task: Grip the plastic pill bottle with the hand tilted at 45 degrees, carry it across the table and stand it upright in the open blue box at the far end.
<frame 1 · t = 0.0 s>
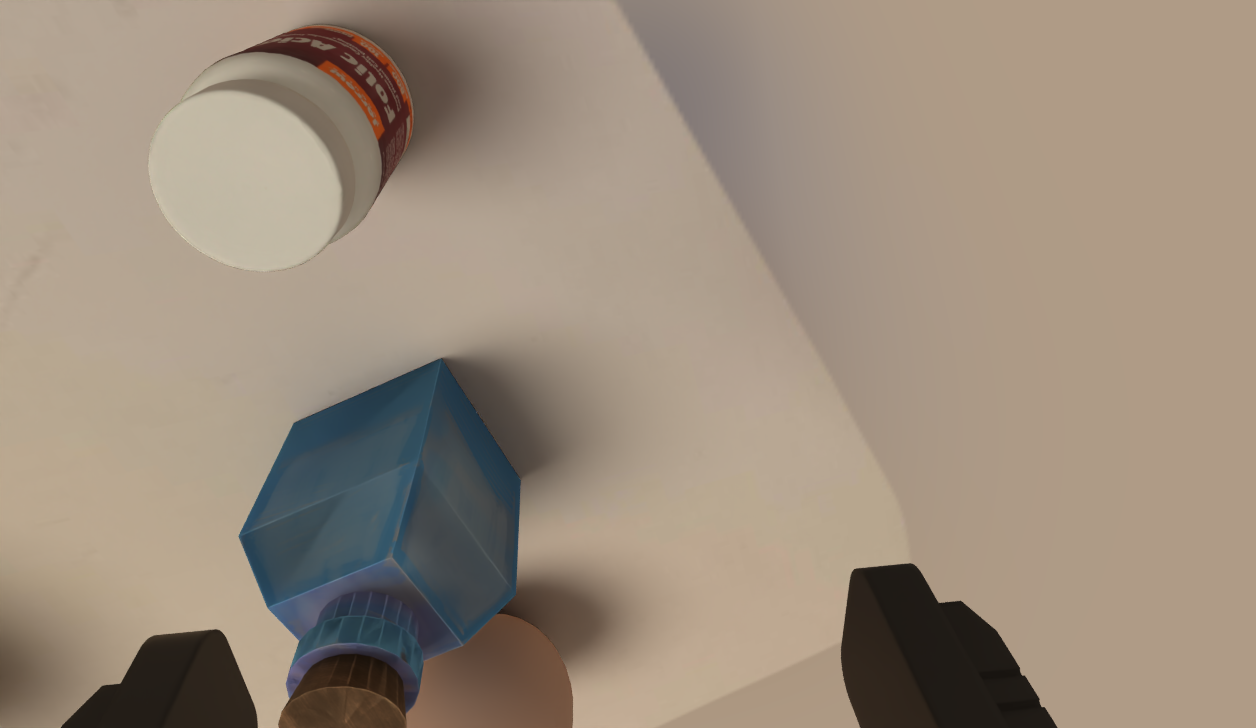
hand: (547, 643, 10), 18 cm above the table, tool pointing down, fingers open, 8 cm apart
perfume bottle: (412, 449, 31), on the table
pill bottle: (337, 104, 25), on the table
egg: (496, 626, 36), on the table
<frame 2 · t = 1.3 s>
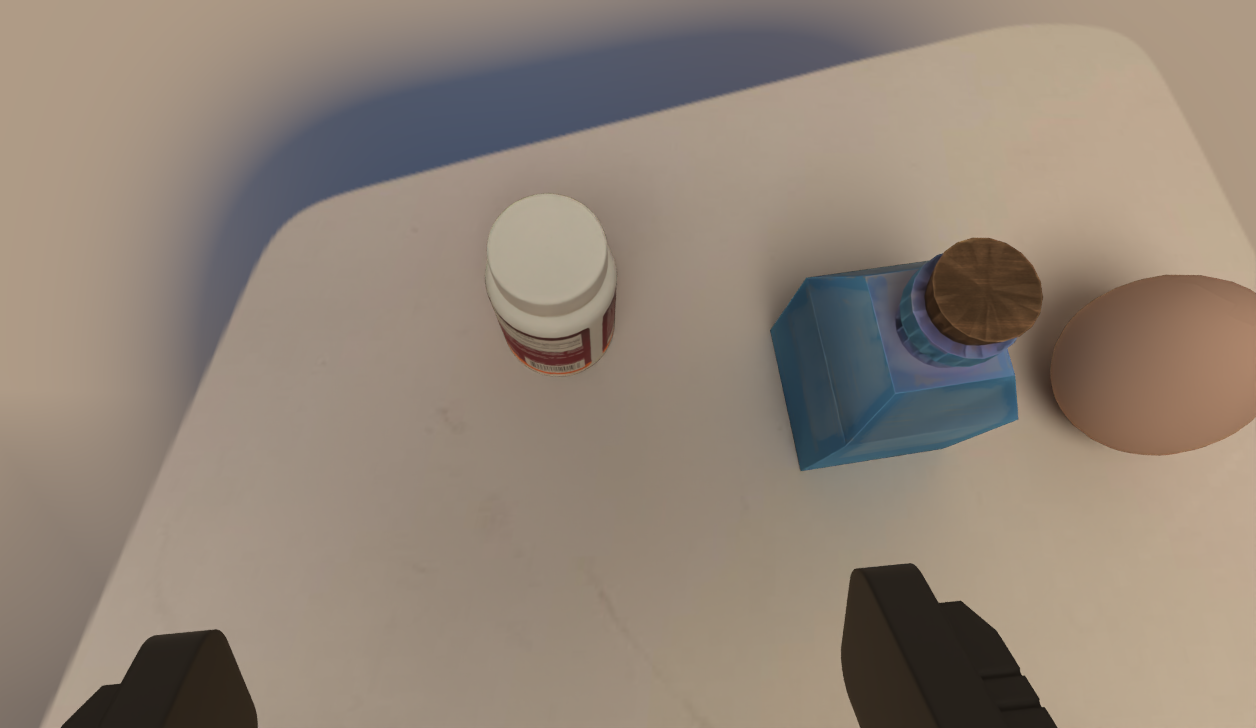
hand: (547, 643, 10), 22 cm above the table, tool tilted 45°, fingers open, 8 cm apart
perfume bottle: (854, 389, 34), on the table
pill bottle: (558, 327, 35), on the table
egg: (1086, 393, 35), on the table
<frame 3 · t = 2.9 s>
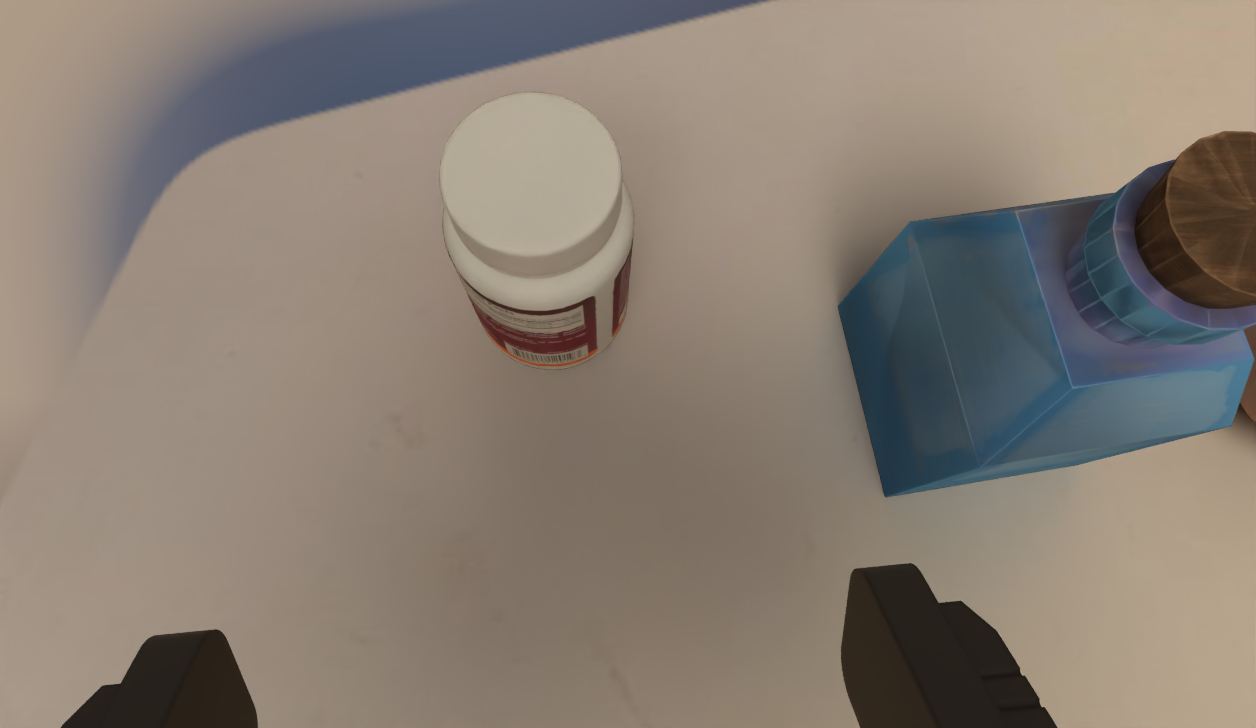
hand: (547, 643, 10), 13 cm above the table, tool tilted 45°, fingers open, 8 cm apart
perfume bottle: (952, 385, 25), on the table
pill bottle: (552, 303, 26), on the table
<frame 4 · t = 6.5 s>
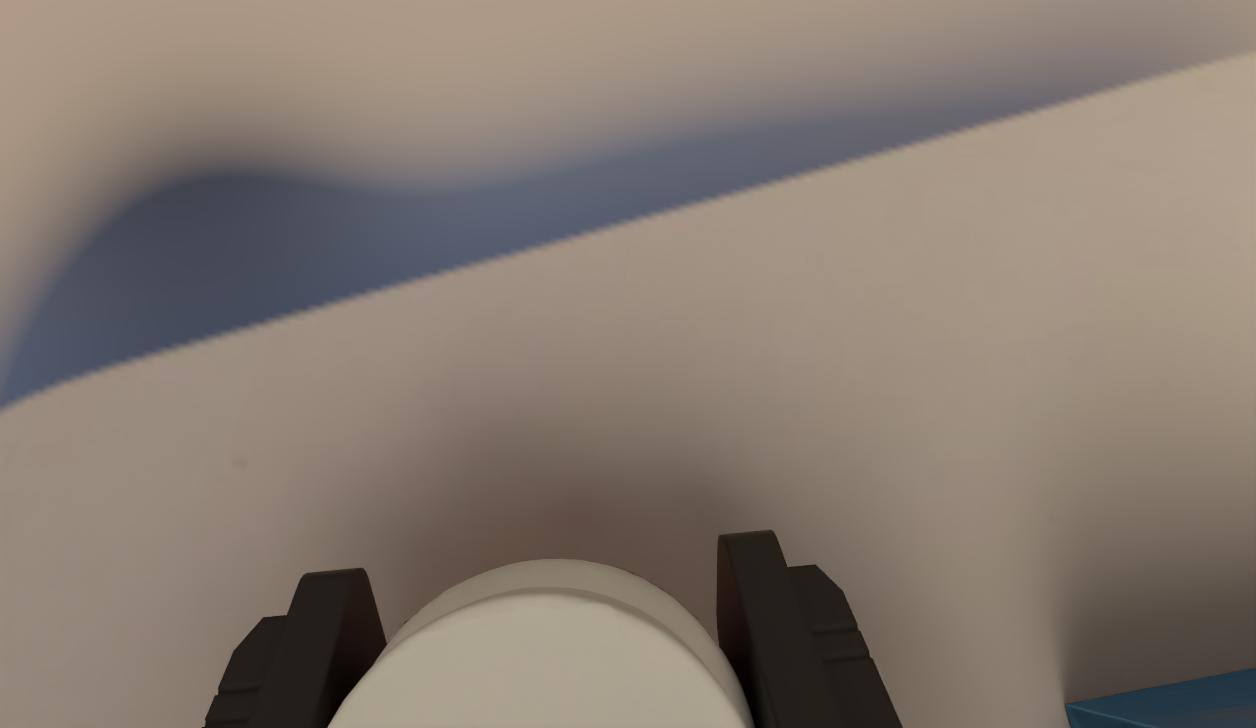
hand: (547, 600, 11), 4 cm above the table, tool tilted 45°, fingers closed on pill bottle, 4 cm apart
pill bottle: (569, 701, 15), on the table, touching gripper
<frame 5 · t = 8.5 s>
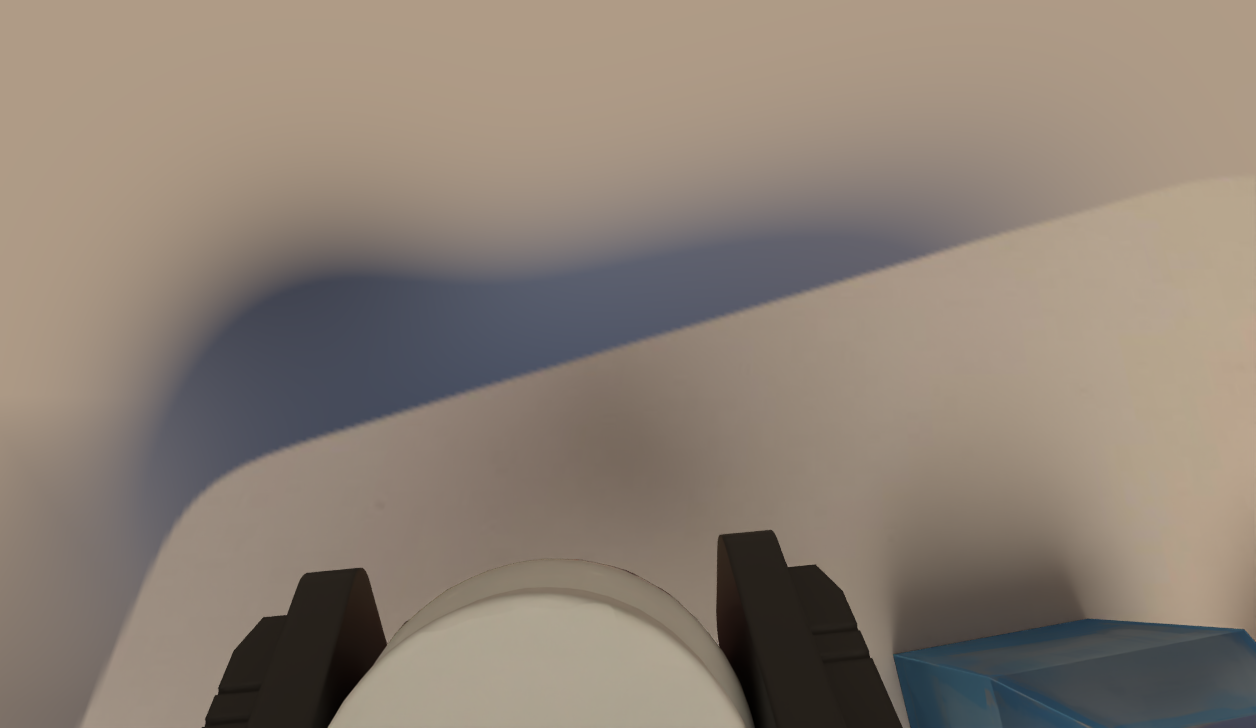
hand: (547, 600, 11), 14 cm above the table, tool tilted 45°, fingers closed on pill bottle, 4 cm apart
pill bottle: (569, 701, 15), point 9 cm above the table, touching gripper
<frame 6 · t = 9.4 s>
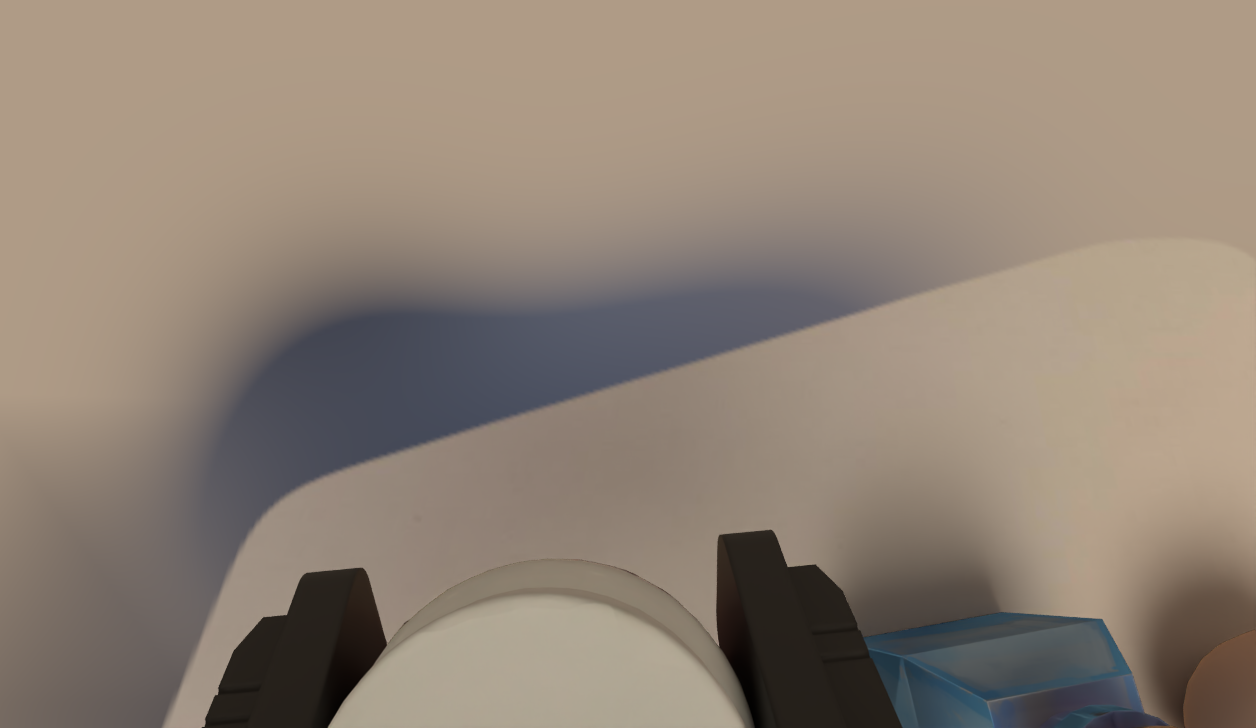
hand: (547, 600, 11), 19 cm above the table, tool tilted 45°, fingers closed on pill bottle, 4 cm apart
perfume bottle: (941, 715, 29), on the table
pill bottle: (569, 701, 15), point 15 cm above the table, touching gripper
egg: (1219, 715, 29), on the table
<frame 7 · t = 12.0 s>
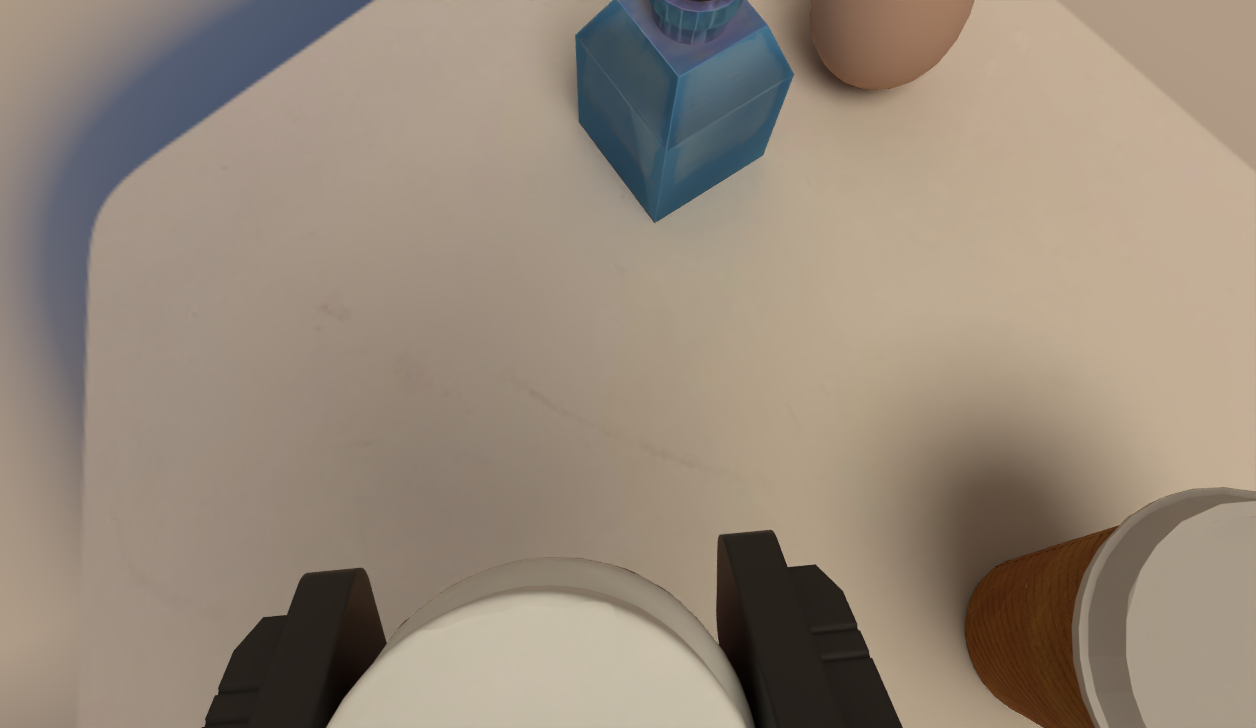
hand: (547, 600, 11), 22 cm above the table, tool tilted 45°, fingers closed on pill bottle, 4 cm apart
perfume bottle: (670, 140, 38), on the table
disposable coffee cup: (1039, 636, 32), on the table
pill bottle: (569, 700, 15), point 17 cm above the table, touching gripper
egg: (857, 65, 39), on the table
when the fingers open (5 cm above the table, at t = 19.6 s): pill bottle stays where it is, resting on open blue box.
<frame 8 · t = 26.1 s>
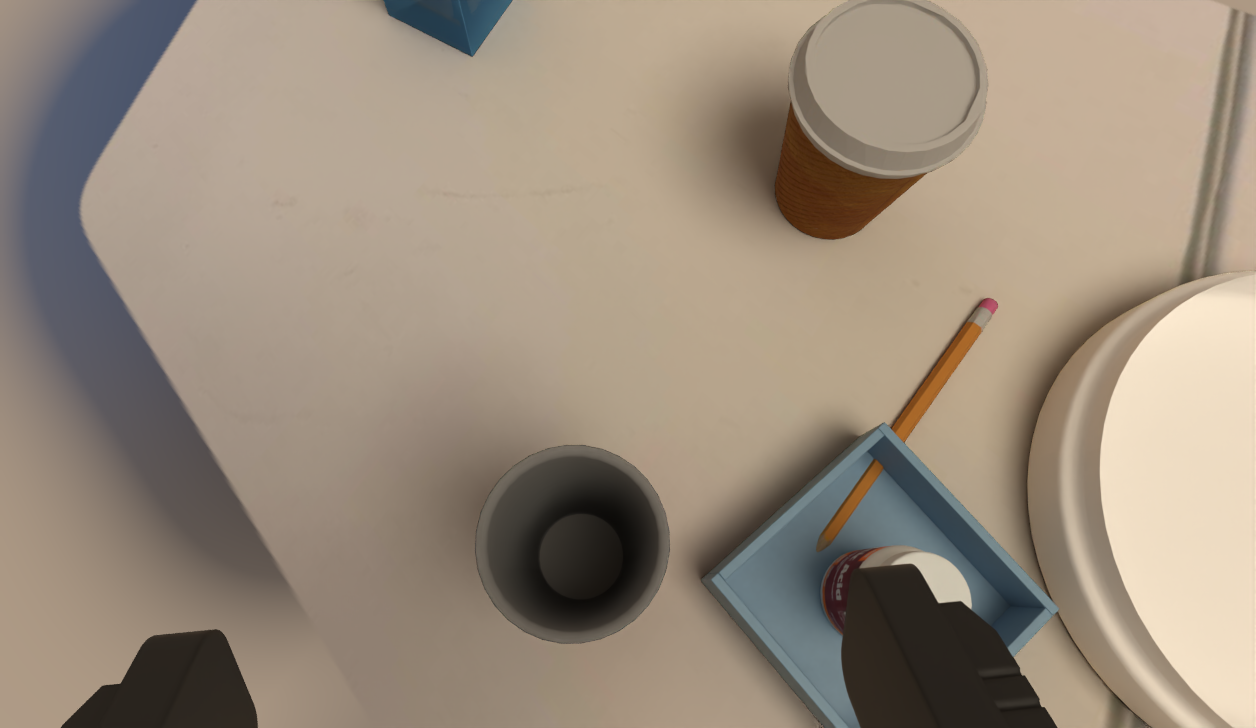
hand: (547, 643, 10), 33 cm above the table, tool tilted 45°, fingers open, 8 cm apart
perfume bottle: (456, 2, 52), on the table
disposable coffee cup: (825, 193, 49), on the table
pill bottle: (861, 596, 42), resting on open blue box
pencil: (899, 429, 45), on the table
open blue box: (859, 593, 42), on the table
cup: (581, 556, 43), on the table
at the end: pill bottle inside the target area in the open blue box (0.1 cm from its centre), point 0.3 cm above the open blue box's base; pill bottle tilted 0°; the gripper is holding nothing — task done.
